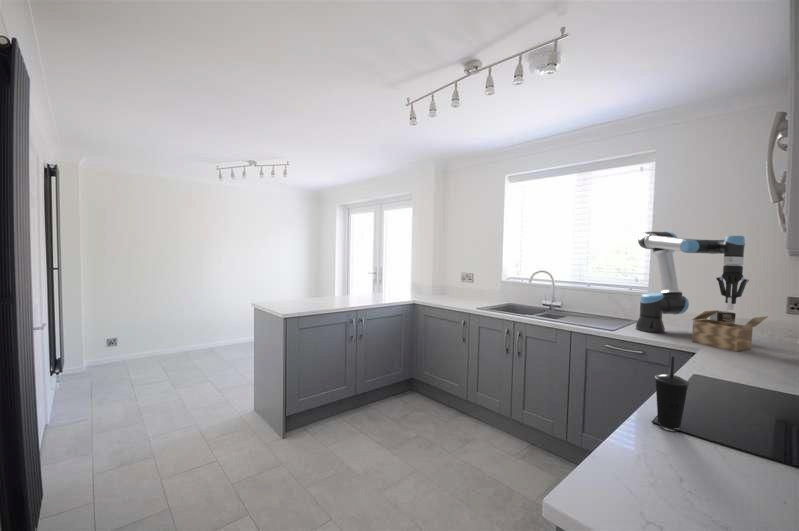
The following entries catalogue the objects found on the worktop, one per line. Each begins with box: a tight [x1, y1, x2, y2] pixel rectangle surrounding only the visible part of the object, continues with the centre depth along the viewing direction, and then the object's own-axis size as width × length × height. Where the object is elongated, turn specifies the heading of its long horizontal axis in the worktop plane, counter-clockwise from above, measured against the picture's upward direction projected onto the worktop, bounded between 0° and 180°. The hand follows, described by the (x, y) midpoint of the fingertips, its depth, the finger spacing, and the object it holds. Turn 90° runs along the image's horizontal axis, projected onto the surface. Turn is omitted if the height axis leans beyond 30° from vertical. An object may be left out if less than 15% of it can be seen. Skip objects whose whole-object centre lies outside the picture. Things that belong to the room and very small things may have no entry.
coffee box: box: [709, 310, 736, 324], centre depth 205 cm, size 9×6×16 cm
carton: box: [691, 318, 754, 353], centre depth 190 cm, size 20×13×12 cm, turn 23°
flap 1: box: [691, 309, 719, 321], centre depth 197 cm, size 8×13×1 cm
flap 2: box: [740, 315, 769, 329], centre depth 178 cm, size 8×13×1 cm
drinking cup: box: [654, 356, 690, 428], centre depth 98 cm, size 8×8×20 cm
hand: (730, 309), depth 187 cm, fingers closed
